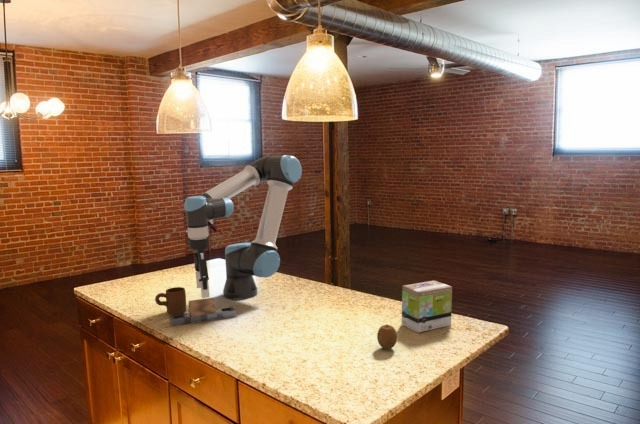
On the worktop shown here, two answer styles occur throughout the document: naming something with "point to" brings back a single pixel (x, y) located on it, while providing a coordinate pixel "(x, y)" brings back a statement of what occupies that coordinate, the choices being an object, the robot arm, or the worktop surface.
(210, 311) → the tan cardboard box
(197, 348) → the worktop surface
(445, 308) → the tea box
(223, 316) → the rail
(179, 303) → the mug
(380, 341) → the fruit
